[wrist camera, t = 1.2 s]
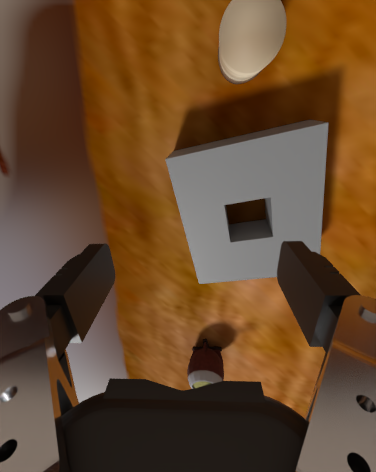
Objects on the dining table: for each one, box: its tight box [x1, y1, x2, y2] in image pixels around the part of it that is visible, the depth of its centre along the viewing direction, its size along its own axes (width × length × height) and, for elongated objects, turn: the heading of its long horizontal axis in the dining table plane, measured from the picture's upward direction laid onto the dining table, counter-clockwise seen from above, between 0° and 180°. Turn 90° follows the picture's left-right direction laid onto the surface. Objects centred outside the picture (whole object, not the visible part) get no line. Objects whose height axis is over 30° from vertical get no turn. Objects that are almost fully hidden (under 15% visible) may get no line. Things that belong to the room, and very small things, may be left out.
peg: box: [218, 0, 286, 84], centre depth 18 cm, size 4×4×11 cm
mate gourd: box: [188, 339, 224, 389], centre depth 42 cm, size 8×8×15 cm
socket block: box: [166, 120, 328, 284], centre depth 29 cm, size 18×16×5 cm
